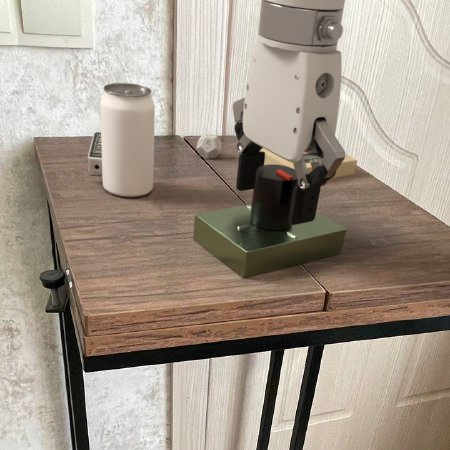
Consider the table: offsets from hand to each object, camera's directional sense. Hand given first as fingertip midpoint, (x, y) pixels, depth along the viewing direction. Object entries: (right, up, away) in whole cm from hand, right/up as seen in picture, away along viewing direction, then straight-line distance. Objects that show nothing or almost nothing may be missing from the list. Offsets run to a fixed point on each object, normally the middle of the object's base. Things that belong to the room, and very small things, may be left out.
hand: (273, 204), depth 69 cm
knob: (0, -1, +1) cm, 2 cm away
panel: (0, -4, +3) cm, 5 cm away
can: (-18, +6, +13) cm, 23 cm away
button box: (+6, +13, +25) cm, 29 cm away
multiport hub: (-22, +12, +20) cm, 32 cm away
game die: (-8, +15, +25) cm, 30 cm away
